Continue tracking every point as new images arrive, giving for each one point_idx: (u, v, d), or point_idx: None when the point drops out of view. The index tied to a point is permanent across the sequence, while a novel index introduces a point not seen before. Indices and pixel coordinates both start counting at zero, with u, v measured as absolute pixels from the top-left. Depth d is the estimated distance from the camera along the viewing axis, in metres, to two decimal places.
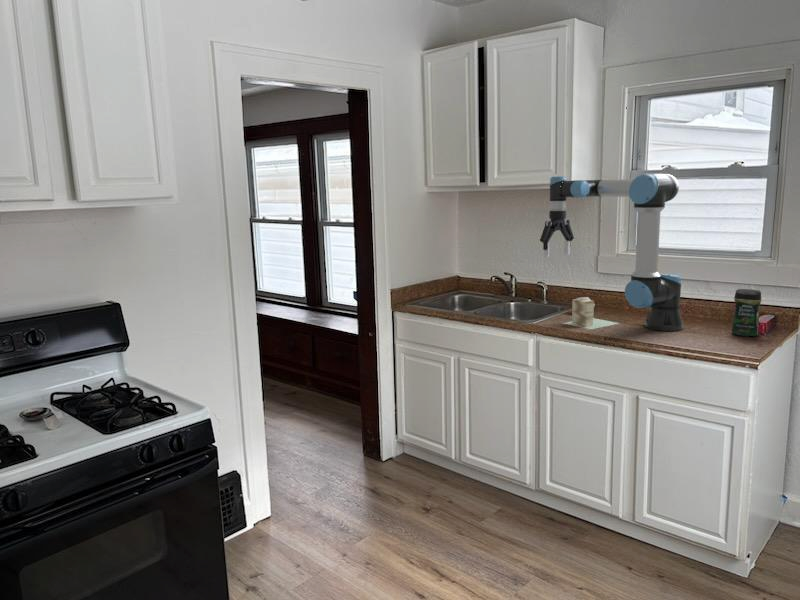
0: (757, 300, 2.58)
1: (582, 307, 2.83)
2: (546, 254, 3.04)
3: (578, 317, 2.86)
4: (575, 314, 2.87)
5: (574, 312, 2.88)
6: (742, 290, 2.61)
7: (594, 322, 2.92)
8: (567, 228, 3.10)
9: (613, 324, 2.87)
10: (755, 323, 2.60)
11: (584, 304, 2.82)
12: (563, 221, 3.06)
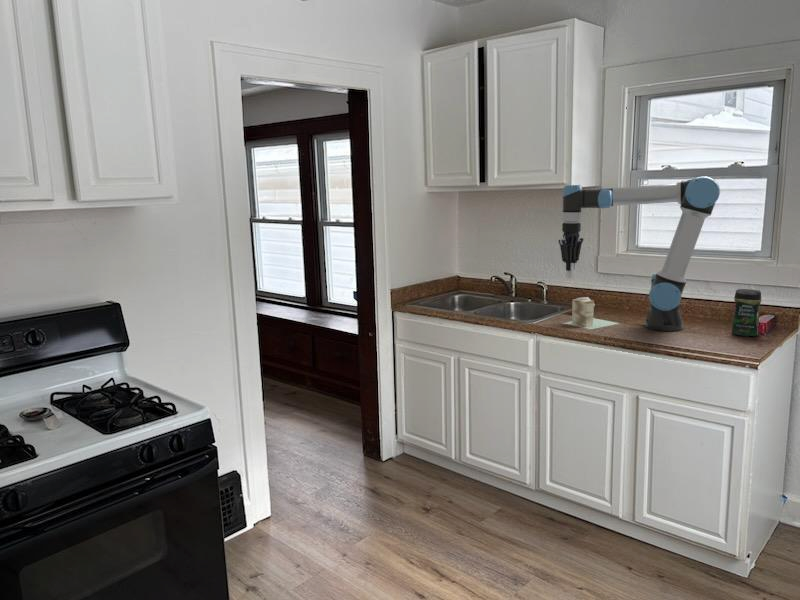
0: (757, 300, 2.58)
1: (582, 307, 2.83)
2: (569, 275, 2.78)
3: (578, 317, 2.86)
4: (575, 314, 2.87)
5: (574, 312, 2.88)
6: (742, 290, 2.61)
7: (594, 322, 2.92)
8: (577, 246, 2.79)
9: (613, 324, 2.87)
10: (755, 323, 2.60)
11: (584, 304, 2.82)
12: (578, 234, 2.77)
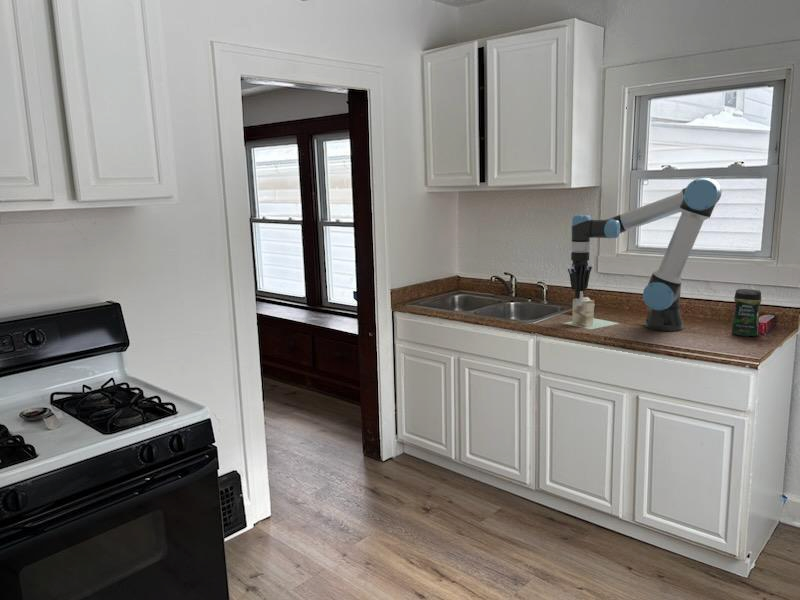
0: (757, 300, 2.58)
1: (582, 306, 2.83)
2: (578, 303, 2.83)
3: (578, 317, 2.86)
4: (575, 313, 2.87)
5: (574, 311, 2.88)
6: (742, 290, 2.61)
7: (594, 322, 2.92)
8: (586, 274, 2.84)
9: (613, 324, 2.87)
10: (755, 323, 2.60)
11: (584, 304, 2.83)
12: (586, 263, 2.82)
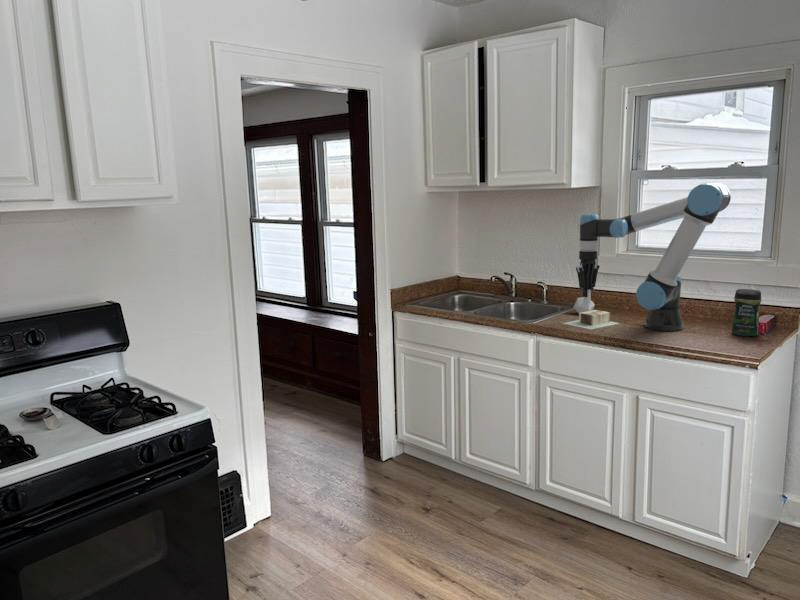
0: (757, 300, 2.58)
1: (602, 312, 2.91)
2: (586, 301, 2.86)
3: (590, 313, 2.90)
4: (589, 312, 2.92)
5: (589, 311, 2.93)
6: (742, 290, 2.61)
7: None
8: (593, 273, 2.87)
9: (613, 324, 2.87)
10: (755, 323, 2.60)
11: (605, 312, 2.91)
12: (594, 262, 2.85)
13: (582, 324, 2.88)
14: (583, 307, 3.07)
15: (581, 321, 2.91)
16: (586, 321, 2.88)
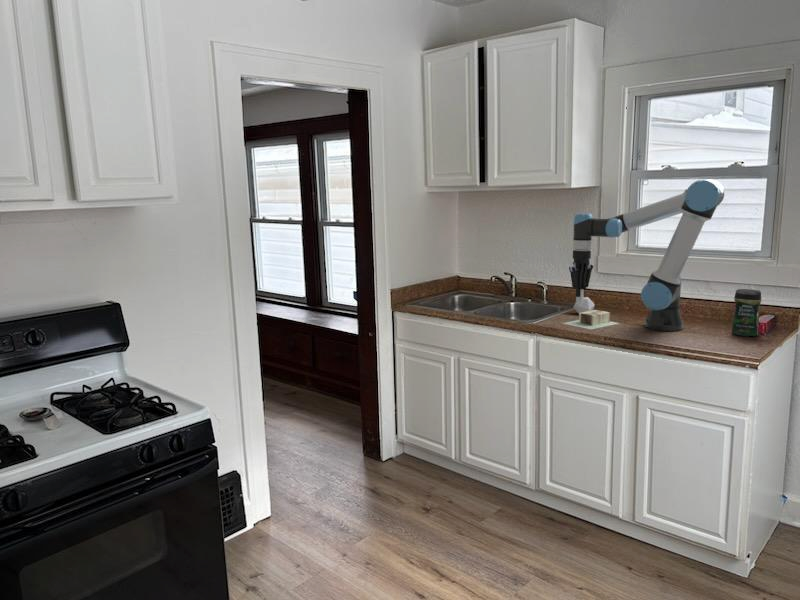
0: (757, 300, 2.58)
1: (602, 312, 2.91)
2: (579, 301, 2.85)
3: (590, 313, 2.90)
4: (589, 312, 2.92)
5: (589, 311, 2.93)
6: (742, 290, 2.61)
7: None
8: (587, 273, 2.85)
9: (613, 324, 2.87)
10: (755, 323, 2.60)
11: (605, 312, 2.91)
12: (588, 261, 2.83)
13: (582, 324, 2.88)
14: (583, 307, 3.07)
15: (581, 321, 2.91)
16: (586, 321, 2.88)
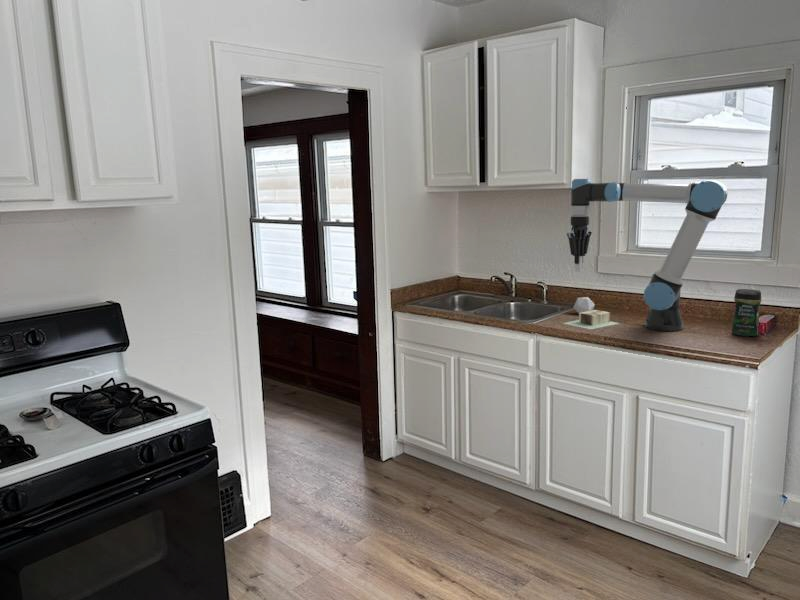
0: (757, 300, 2.58)
1: (602, 312, 2.91)
2: (577, 268, 2.80)
3: (590, 313, 2.90)
4: (589, 312, 2.92)
5: (589, 311, 2.93)
6: (742, 290, 2.61)
7: None
8: (585, 239, 2.81)
9: (613, 324, 2.87)
10: (755, 323, 2.60)
11: (605, 312, 2.91)
12: (586, 228, 2.79)
13: (582, 324, 2.88)
14: (583, 307, 3.07)
15: (581, 321, 2.91)
16: (586, 321, 2.88)
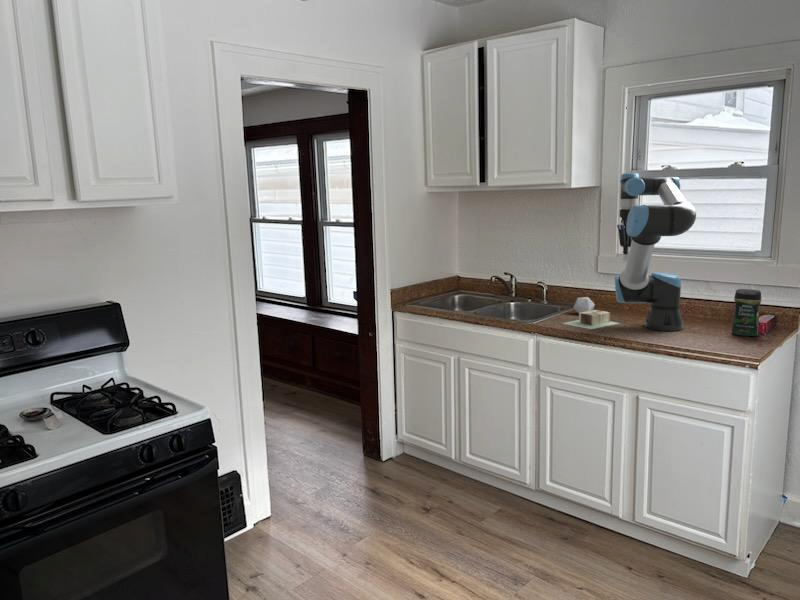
0: (757, 300, 2.58)
1: (602, 312, 2.91)
2: (626, 259, 2.95)
3: (590, 313, 2.90)
4: (589, 312, 2.92)
5: (589, 311, 2.93)
6: (742, 290, 2.61)
7: None
8: None
9: (613, 324, 2.87)
10: (755, 323, 2.60)
11: (605, 312, 2.91)
12: None
13: (582, 324, 2.88)
14: (583, 307, 3.07)
15: (581, 321, 2.91)
16: (586, 321, 2.88)
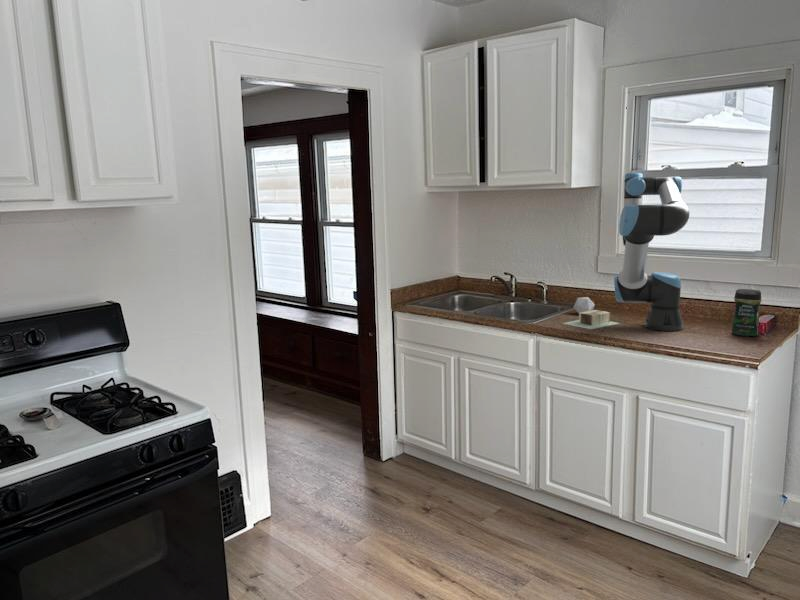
0: (757, 300, 2.58)
1: (602, 312, 2.91)
2: None
3: (590, 313, 2.90)
4: (589, 312, 2.92)
5: (589, 311, 2.93)
6: (742, 290, 2.61)
7: None
8: None
9: (613, 324, 2.87)
10: (755, 323, 2.60)
11: (605, 312, 2.91)
12: None
13: (582, 324, 2.88)
14: (583, 307, 3.07)
15: (581, 321, 2.91)
16: (586, 321, 2.88)
